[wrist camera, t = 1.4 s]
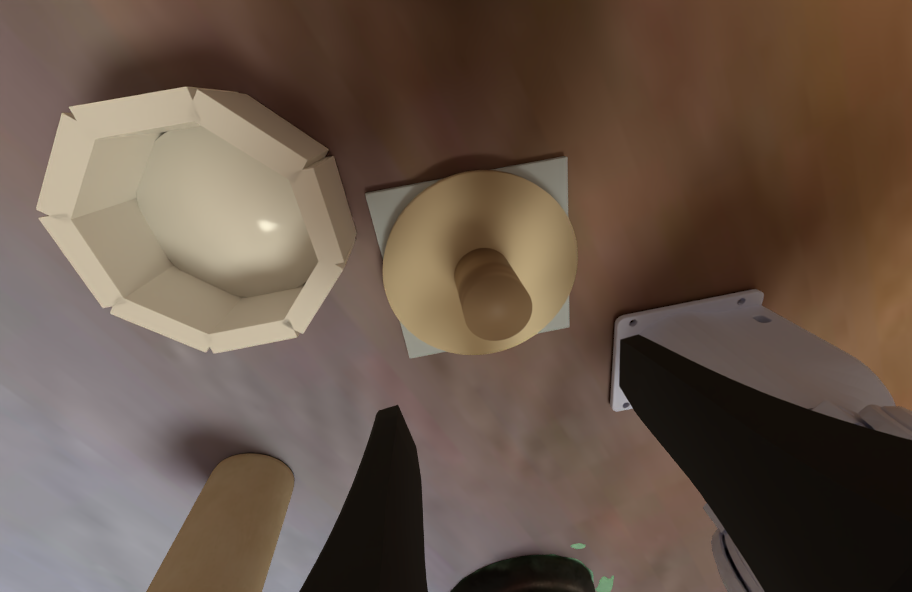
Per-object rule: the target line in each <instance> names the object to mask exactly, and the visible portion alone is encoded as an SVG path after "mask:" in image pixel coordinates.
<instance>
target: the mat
mask: <svg viewBox="0 0 912 592" xmlns="http://www.w3.org/2000/svg"><path fill="white" fill-rule="evenodd" d="M492 170H496V171H502V172H508V173H511V174H514V175H517V176H520V177H522V178H524V179H526V180H529V181H531V182H532V183H534V184H536V185H537V186H539V187H540V188H542V189H543V190H545V191H546V192H547V193H549V194H550V195H551V196H552V197H553V198H554V199H555V200H556V201H557V202H558V203H559V205H560V206H561V207H562V209H563V210H564V211H565V213H566V215H567V217H568V157H566V156H563V157H557V158H552V159H546V160H541V161H536V162H530V163H525V164H519V165H514V166H508V167H503V168H498V169H492ZM443 179H444V178H443ZM439 180H441V179H438V180H433V181H427V182H422V183H416V184H411V185H405V186H400V187H395V188H389V189H384V190H378V191H373V192H368V193H366V194H365V196H366V200H367V203H368V207H369V211H370V214H371V218H372V222H373V225H374V229H375V233H376V236H377V240H378V244H379V247H380V251H381V255H382V258H383V259H384V253H385V248H386V244H387V240H388V237H389V234H390V232H391V229H392V227H393V225H394V223H395V222H396V220H397V218H398V216H399V215H400V214H401V212H402V211H403V210H404V208H405V207H406V206H407V205H408V204H409V203H410V202H411V201H412V200H413V199H414V198H415V197H416V196H417V195H418V194H419V193H421V192H422V191H423V190H424V189H426V188H427V187H429V186H430V185H432V184H434V183H436V182H437V181H439ZM400 324H401V328H402V332H403V335H404V339H405V343H406V346H407V350H408V354H409V357H410V358H415V357H420V356H426V355H431V354H436V353H441V352H446V351H443V350H440V349H437V348H435V347H433V346H430V345H428V344H426V343H425V342H423V341H421V340H420V339H418V338H417V337H416V336H414V335H413V334H412V333H411V332H409V331H408V330H407V329H406V327H405V326H404V325H403V324H402V323H401V322H400ZM567 327H569V296H568V298H567V300H566V302H565V303H564V305H563V306H562V308H561V309H560V311H559V312H558V313H557V315H556V316H555V317H554V318H553V320H552V321H551V322H550V323H549V324H548V325H546V326H545V327H544V328H543V329H542V330H541V331H539V332H538V333H542V332H547V331H552V330H557V329H562V328H567Z"/></svg>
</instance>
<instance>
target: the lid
mask: <svg viewBox="0 0 912 592" xmlns="http://www.w3.org/2000/svg"><path fill="white" fill-rule="evenodd" d="M577 263H578V250H577V242H576V237H575V233H574V230H573V227H572V225H571V222H570V220H569V218H568V217H567V215H566V213H565V211H564V210H563V209H562V207H561V206H560V205H559V203H558V202H557V201H556V200H555V199H554V198H553V197H552V196H551V195H550V194H549V193H547V192H546V191H545V190H543V189H542V188H540V187H539V186H537V185H536V184H534V183H532V182H531V181H529V180H526V179H524V178H522V177H520V176H517V175H514V174H511V173H508V172H502V171H496V170H474V171H466V172H462V173H458V174H454V175H451V176H449V177H446V178H444V179H441V180H439V181H437V182H436V183H434V184H432V185H430V186H429V187H427V188H426V189H424V190H423V191H422V192H421V193H419V194H418V195H417V196H416V197H415V198H414V199H413V200H412V201H411V202H410V203H409V204H408V205H407V206H406V207H405V208H404V210H403V211H402V212H401V214H400V215H399V216H398V218H397V220H396V222H395V223H394V225H393V227H392V229H391V232H390V234H389V237H388V240H387V244H386V248H385V253H384V259H383V283H384V288H385V293H386V296H387V298H388V301H389V304H390V306H391V308H392V310H393V312H394V313H395V315H396V316H397V318H398V319H399V321H400V322H401V323H402V324H403V325H404V326H405V327H406V329H407V330H408V331H409V332H411V333H412V334H413V335H414V336H416V337H417V338H418V339H420V340H421V341H423V342H425V343H426V344H428V345H430V346H433V347H435V348H437V349H440V350H443V351H447V352H451V353H456V354H464V355H482V354H489V353H495V352H499V351H503V350H506V349H509V348H511V347H514V346H516V345H518V344H520V343H523V342H525V341H526V340H528V339H529V338H531V337H533V336H534V335H536V334H537V333H538V332H539V331H541V330H542V329H543V328H544V327H545V326H546V325H548V324H549V323H550V322H551V321H552V320H553V318H554V317H555V316H556V315H557V313H558V312H559V311H560V309H561V308H562V306H563V305H564V303H565V302H566V300H567V298H568V296H569V294H570V292H571V289H572V286H573V283H574V280H575V276H576V271H577Z"/></svg>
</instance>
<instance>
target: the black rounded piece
mask: <svg viewBox="0 0 912 592" xmlns="http://www.w3.org/2000/svg"><path fill="white" fill-rule="evenodd" d="M571 547H573V548H575V549H581V548H584V547H585V545H584V544H581V543H579V544H573V545H571ZM593 577H594V576H593V573H592V571H591V570H589V569H588V568H587V567H586V566H585V565H584V564H583V563H582V562H581V561H579V560H577V559H574V558H567V557H561V556H557V555H554V554H549V555H529V556H522V557H517V558H512V559H507V560H503V561H499V562H497V563H494V564H491V565H489V566H486V567H484V568H482V569H479V570H477V571H475V572H474V573H472V574H471V575H469V576H467V577H465V578H464V579H463V580H461V581H460V582H459V583H458V584H457V585H456V586H455V587H454V588H453V590H452V591H451V592H595V590H596V591H598V592H610V591H611V589H612V586H613V579H614V576H612V577H611V579H608V578H607V577H602V578H601V580H600V581H599V582H600V583H599V585H598V587H597V588H596V589H594V584H593V583H594V582H593Z"/></svg>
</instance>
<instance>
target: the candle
mask: <svg viewBox="0 0 912 592" xmlns="http://www.w3.org/2000/svg"><path fill="white" fill-rule="evenodd" d="M293 487H294V476H293V473H292V471H291V470H290V469H289V468H288V466H286V465H285V464H284V463H283V462H281V461H279V460H277V459H275V458H273V457H270V456H267V455H262V454H254V453H246V454H238V455H234V456H231V457H228V458H226V459H224V460H223V461H221V462H220V463H219V464H218V465H217V466H216V467H215V469H214V470H213V471H212V473H211V475H210V477H209V478H208V480H207V482H206V484H205V486H204V487H203V489H202V491H201V493H200V495H199V496H198V498H197V500H196V502H195V504H194V506H193V507H192V509H191V511H190V513H189V515H188V517H187V518H186V520H185V522H184V524H183V526H182V527H181V529H180V531H179V533H178V535H177V537H176V538H175V540H174V542H173V544H172V546H171V548H170V549H169V551H168V553H167V555H166V557H165V558H164V560H163V562H162V564H161V566H160V568H159V569H158V571H157V573H156V575H155V577H154V579H153V580H152V582H151V584H150V586H149V588H148V590H147V591H146V592H262V589H263V586H264V583H265V580H266V576H267V573H268V570H269V567H270V563H271V560H272V557H273V554H274V550H275V547H276V544H277V541H278V537H279V534H280V531H281V528H282V524H283V521H284V518H285V515H286V512H287V508H288V505H289V502H290V498H291V495H292V491H293Z"/></svg>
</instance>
